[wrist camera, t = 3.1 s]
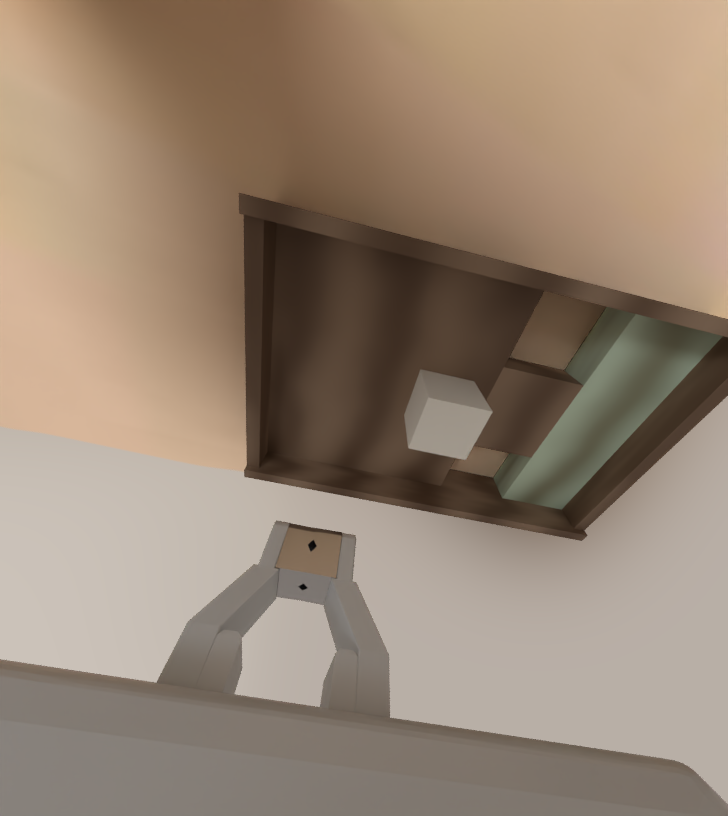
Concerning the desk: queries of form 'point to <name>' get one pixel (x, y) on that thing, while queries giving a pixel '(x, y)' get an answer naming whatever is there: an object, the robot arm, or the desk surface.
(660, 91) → the desk surface
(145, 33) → the desk surface
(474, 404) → the block
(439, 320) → the dark brown rimmed tray
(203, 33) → the desk surface
